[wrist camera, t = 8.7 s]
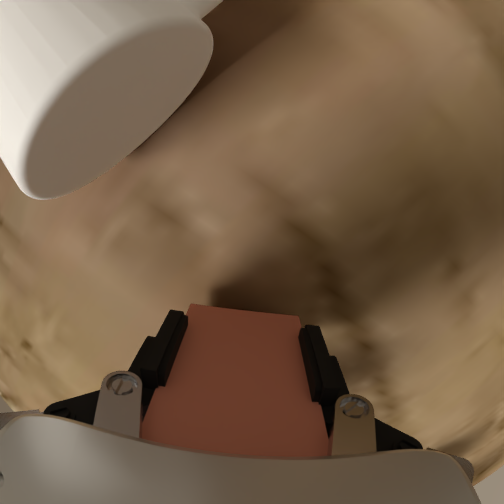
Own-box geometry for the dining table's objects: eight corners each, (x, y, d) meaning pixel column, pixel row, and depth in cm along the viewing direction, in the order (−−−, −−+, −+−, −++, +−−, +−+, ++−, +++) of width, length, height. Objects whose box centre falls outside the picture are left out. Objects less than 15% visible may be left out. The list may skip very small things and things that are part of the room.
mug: (103, 189, 13) (-21, 226, 5) (19, 76, 11) (-79, 60, 3) (294, 24, 10) (330, -89, 3) (171, -64, 8) (132, -146, 1)
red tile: (298, 315, 14) (340, 492, 5) (291, 347, 14) (318, 516, 5) (190, 303, 13) (123, 473, 5) (189, 335, 14) (136, 500, 5)
